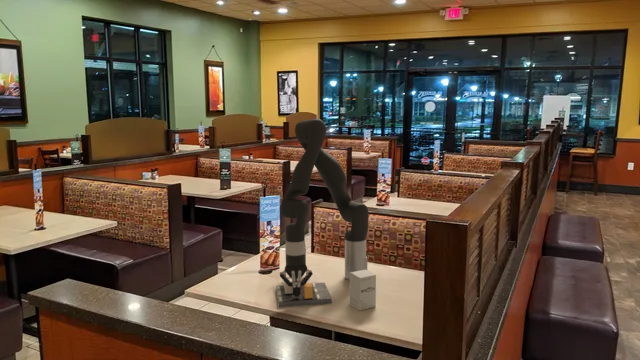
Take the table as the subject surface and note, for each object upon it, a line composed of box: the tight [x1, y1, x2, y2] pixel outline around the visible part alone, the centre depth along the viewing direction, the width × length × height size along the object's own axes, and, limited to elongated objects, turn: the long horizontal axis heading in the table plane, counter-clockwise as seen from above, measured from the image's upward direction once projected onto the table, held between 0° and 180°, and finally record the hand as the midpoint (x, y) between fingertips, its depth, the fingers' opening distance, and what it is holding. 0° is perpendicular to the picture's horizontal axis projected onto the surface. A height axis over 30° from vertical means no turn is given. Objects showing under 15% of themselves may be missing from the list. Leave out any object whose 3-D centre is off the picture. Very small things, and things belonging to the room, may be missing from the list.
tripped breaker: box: [303, 282, 313, 299], centre depth 184 cm, size 3×4×4 cm
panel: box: [275, 282, 333, 308], centre depth 190 cm, size 20×17×2 cm
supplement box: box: [349, 269, 377, 311], centre depth 180 cm, size 7×7×13 cm
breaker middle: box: [284, 279, 293, 294], centre depth 189 cm, size 3×4×4 cm
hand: (296, 295), depth 184 cm, fingers closed
